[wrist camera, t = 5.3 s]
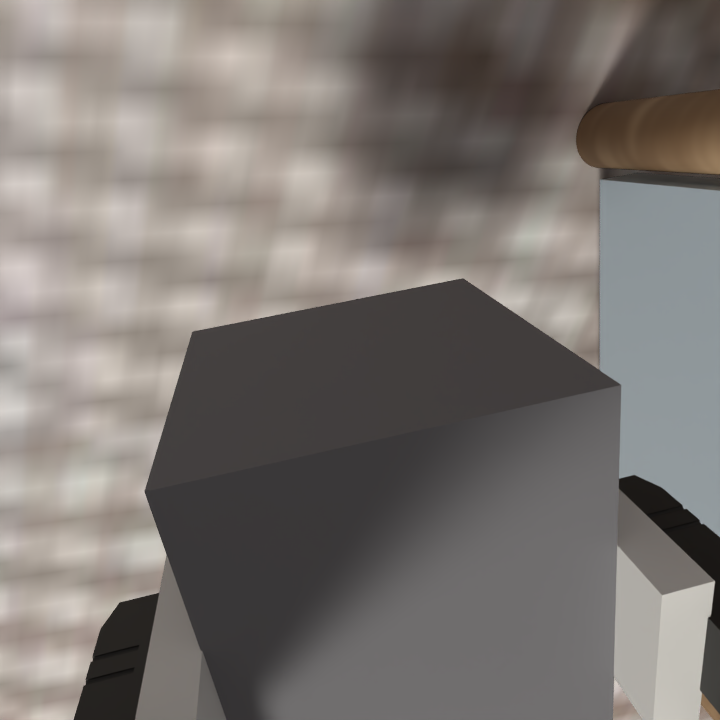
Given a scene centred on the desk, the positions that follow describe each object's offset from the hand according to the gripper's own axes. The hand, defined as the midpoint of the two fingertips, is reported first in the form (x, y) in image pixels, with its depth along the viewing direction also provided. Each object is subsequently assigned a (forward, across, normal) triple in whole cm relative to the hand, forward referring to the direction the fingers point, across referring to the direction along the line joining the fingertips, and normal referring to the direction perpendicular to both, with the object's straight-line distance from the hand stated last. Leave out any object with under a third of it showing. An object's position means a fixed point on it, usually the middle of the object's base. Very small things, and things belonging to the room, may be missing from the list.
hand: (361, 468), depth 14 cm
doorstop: (0, 0, 0) cm, 1 cm away
